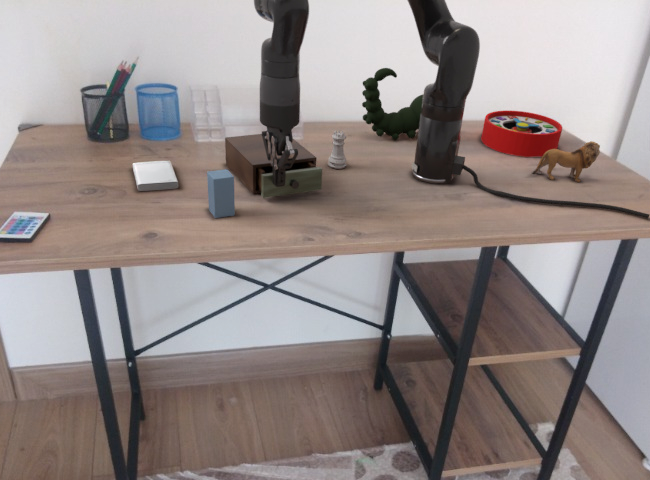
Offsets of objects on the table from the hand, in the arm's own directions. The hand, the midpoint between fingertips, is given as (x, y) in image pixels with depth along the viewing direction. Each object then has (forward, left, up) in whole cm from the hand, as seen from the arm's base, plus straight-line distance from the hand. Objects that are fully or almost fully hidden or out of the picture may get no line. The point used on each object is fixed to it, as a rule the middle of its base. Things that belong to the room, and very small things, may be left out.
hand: (278, 185), depth 130 cm
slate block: (+8, +9, -4) cm, 13 cm away
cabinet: (+8, -13, -4) cm, 16 cm away
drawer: (+4, -9, -3) cm, 11 cm away
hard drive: (+29, 0, -4) cm, 29 cm away
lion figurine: (-55, -43, -4) cm, 70 cm away
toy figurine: (-14, -54, -4) cm, 56 cm away
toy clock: (-43, -63, -4) cm, 77 cm away
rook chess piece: (-4, -25, -4) cm, 26 cm away
